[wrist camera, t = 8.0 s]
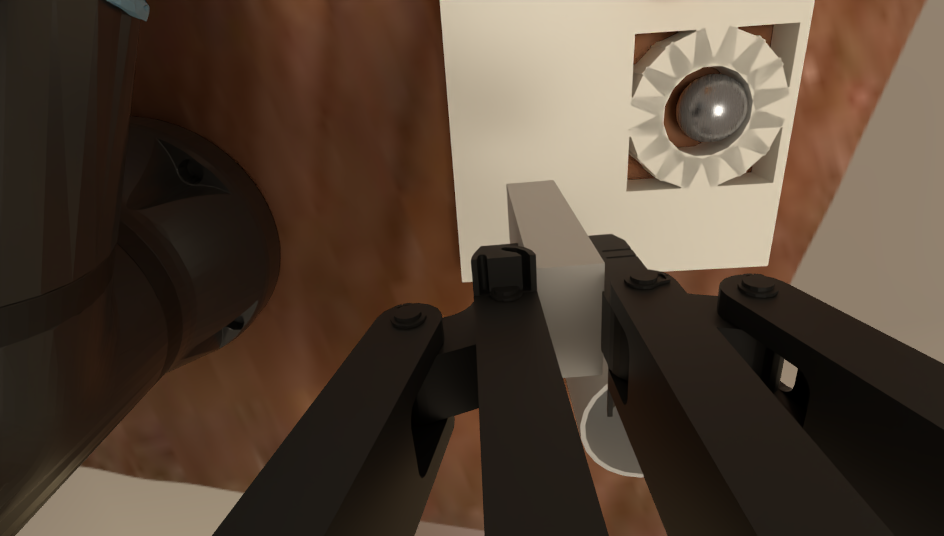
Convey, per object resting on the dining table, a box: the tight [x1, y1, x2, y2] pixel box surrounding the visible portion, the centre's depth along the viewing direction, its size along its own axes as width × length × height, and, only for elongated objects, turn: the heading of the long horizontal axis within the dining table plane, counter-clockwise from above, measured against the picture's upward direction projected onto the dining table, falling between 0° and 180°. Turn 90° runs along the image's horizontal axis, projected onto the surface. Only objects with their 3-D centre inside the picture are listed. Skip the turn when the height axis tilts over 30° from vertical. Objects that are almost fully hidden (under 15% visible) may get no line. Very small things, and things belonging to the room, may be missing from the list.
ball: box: [676, 74, 748, 142], centre depth 28 cm, size 4×4×4 cm
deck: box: [440, 0, 815, 282], centre depth 28 cm, size 18×18×2 cm
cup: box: [566, 355, 644, 477], centre depth 31 cm, size 7×10×9 cm
